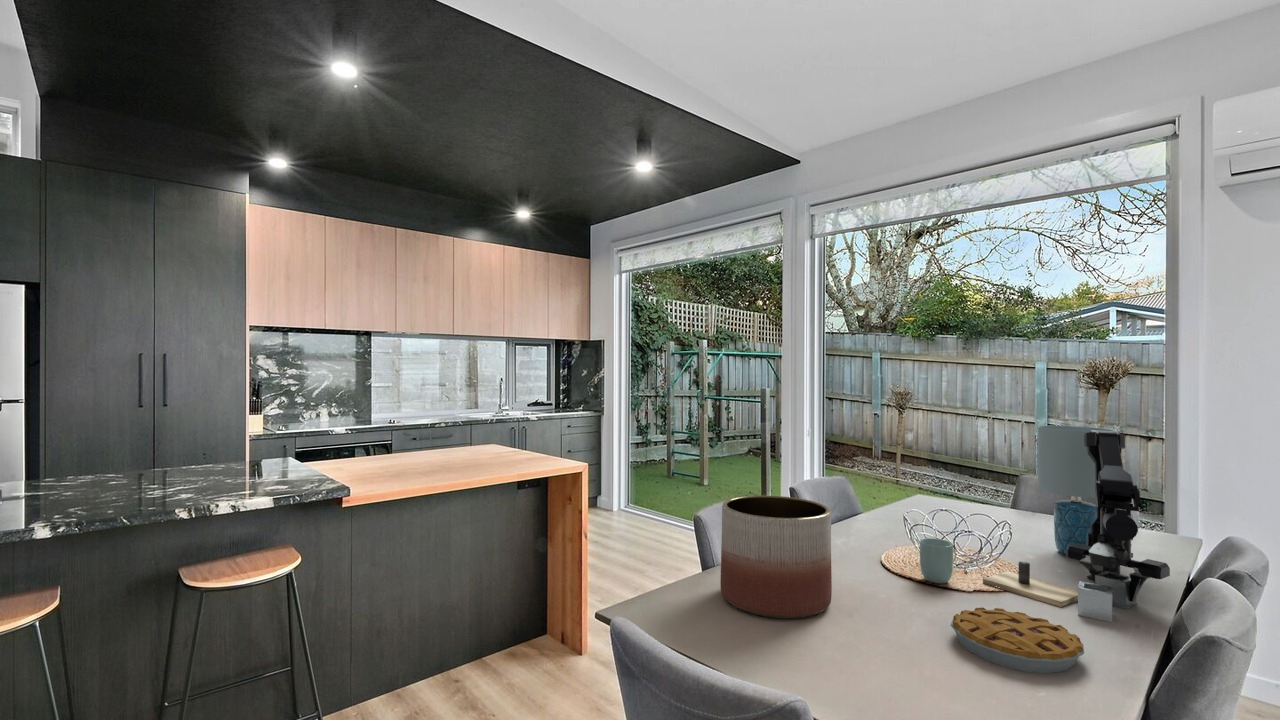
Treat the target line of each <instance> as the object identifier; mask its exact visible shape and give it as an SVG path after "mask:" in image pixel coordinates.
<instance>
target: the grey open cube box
mask: <svg viewBox="0 0 1280 720" xmlns="http://www.w3.org/2000/svg"><path fill="white" fill-rule="evenodd" d="M1077 590H1078V601H1077V615H1078V616H1081V617H1085V618H1090V619H1095V620H1098V621H1099V620H1100V621H1104V622H1110V623H1113V605H1112V587H1109V586H1104V585H1099V584H1095V583H1094V582H1093V583H1092V582H1087V581H1083V580H1082V581H1081V580H1079V582H1078V586H1077Z"/></svg>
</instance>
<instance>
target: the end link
mask: <svg viewBox="0 0 1280 720" xmlns="http://www.w3.org/2000/svg"><path fill="white" fill-rule="evenodd" d="M1094 584H1099V585H1104V586H1109V587H1112V606H1115V607H1118V608H1120V609H1121V608H1122V609H1124V610H1126V609H1129V608H1130V607H1133V606H1135V605H1137V601H1138V600H1137V597H1138V595H1137V596H1136V598H1135V600H1134V601H1133V602H1131V601H1130V586H1131V578H1130V575H1126V574H1121V573H1120V574H1117V573H1113V572H1109V571H1105V572H1102V573H1099V574H1096V575H1095V583H1094ZM1128 607H1129V608H1128Z"/></svg>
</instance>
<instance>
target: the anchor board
mask: <svg viewBox="0 0 1280 720" xmlns="http://www.w3.org/2000/svg"><path fill="white" fill-rule="evenodd" d="M1030 567H1031V564H1030V563H1029V562H1028V561H1022V560H1021V561H1019V560H1018V573H1016V572H1013V571H1010V570H1007V571H1004V572H1003V571H1002V572H1000V573H997V574H994V575H991V576H987V577H983V578H982V584H984V583H986V584H985V585H987V584H989V585H988V586H990V585H993V586H992V587H994V586H997V587H1000V588H1003V589H1005V591H1007V592H1011V593H1014V594H1017V595H1020V596H1024V597H1028V598H1031V599H1033V600H1036V601H1039V602H1043V603H1047V604H1049V605H1053V606H1056V607H1059V608H1063V607H1065V606H1067V605H1070V604H1072V603H1075V602H1078V589H1075V588H1071V587H1067V586H1063V585H1060V584H1057V583H1052V582H1049V581H1046V580H1042V579H1037V578H1035V577H1031V575H1030V574H1031V568H1030ZM997 587H996V588H997ZM1000 588H999V589H1000ZM1003 589H1002V590H1003Z"/></svg>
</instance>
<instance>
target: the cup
mask: <svg viewBox="0 0 1280 720" xmlns="http://www.w3.org/2000/svg"><path fill="white" fill-rule="evenodd" d="M919 566H920V572H921V575H922V576H923V578H924V579H925V580H926V581H928V582H930V583H933V582H934V583H933V584H947V583H948V582H949V581H950V580H951V578H952V576H953V570H954V544H953V543H952V542H951V541H948V540H947V539H946V540H945V539H941V538H933V537H932V538H931V537H930V538H929V537H926V538H925V537H924V538H921V539H920V540H919Z"/></svg>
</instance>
